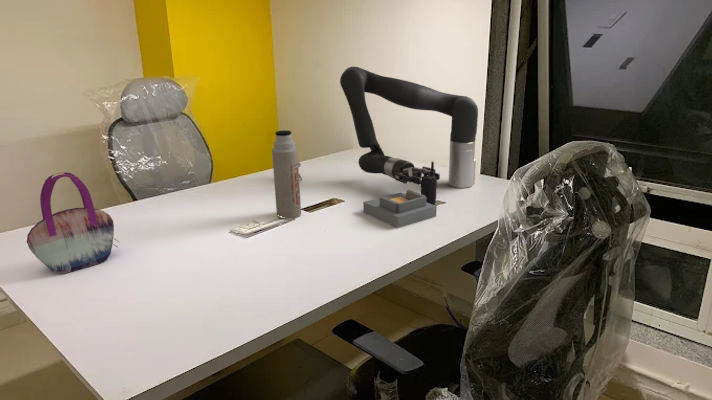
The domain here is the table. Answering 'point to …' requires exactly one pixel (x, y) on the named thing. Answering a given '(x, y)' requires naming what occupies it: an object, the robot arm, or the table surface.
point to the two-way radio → (429, 186)
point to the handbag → (71, 232)
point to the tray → (400, 208)
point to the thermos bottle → (286, 175)
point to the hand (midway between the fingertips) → (429, 179)
